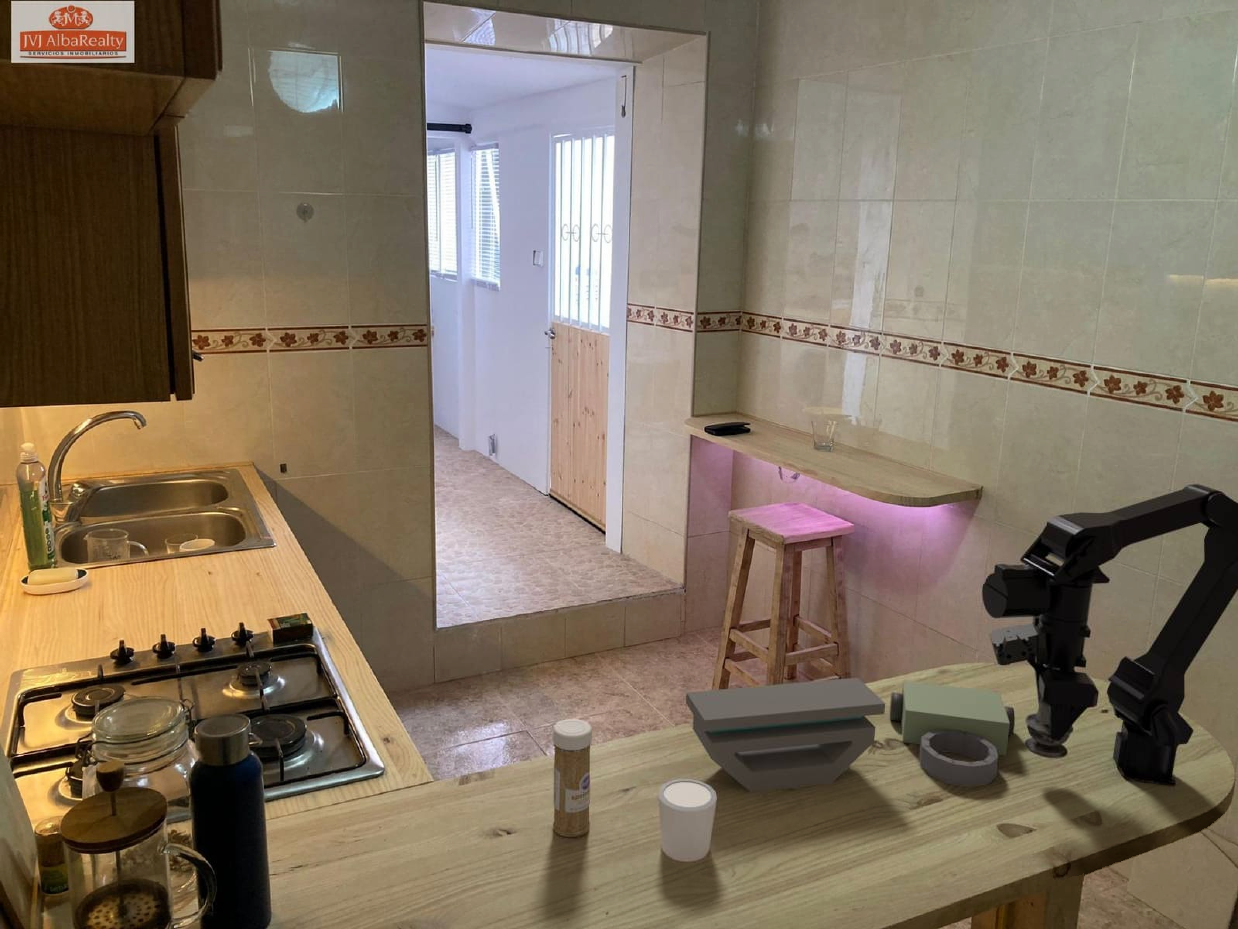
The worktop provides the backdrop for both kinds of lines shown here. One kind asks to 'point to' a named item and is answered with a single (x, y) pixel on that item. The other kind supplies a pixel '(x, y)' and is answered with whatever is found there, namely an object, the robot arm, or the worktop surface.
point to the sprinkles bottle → (571, 777)
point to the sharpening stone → (786, 730)
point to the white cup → (686, 818)
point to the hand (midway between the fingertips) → (1049, 723)
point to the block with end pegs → (954, 729)
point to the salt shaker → (1044, 734)
